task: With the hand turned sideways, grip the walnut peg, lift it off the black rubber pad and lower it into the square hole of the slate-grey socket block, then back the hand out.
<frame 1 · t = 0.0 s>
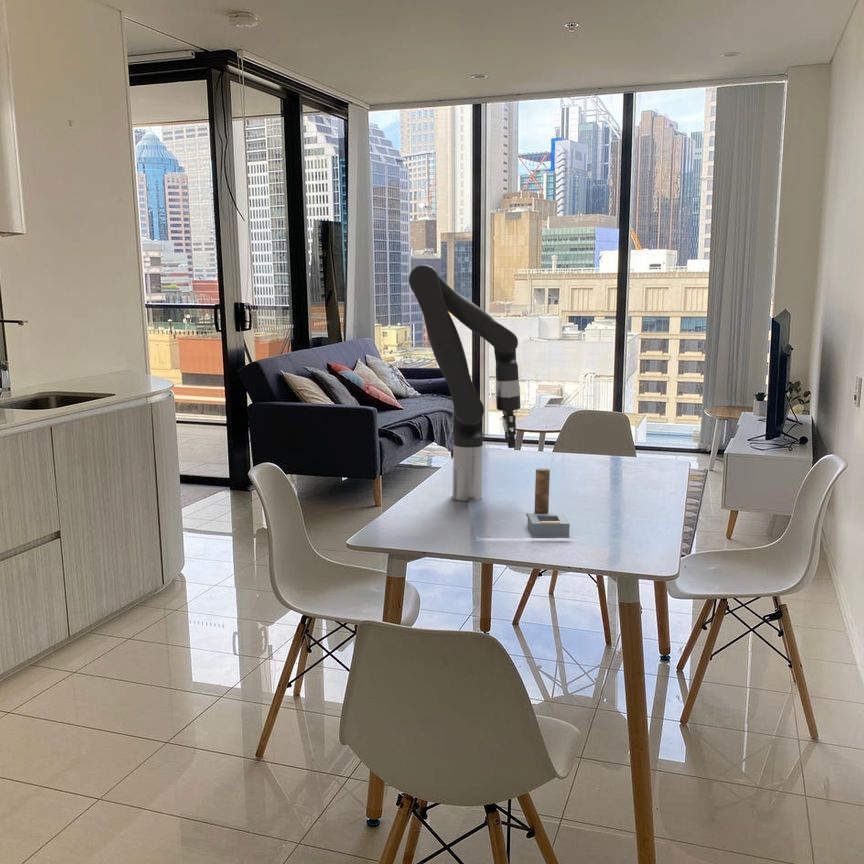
hand: (510, 445, 272), 17 cm above the table, tool pointing down, fingers open, 8 cm apart
walnut peg: (541, 517, 249), point 1 cm above the table, touching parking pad
socket block: (547, 532, 236), on the table
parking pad: (541, 519, 249), on the table
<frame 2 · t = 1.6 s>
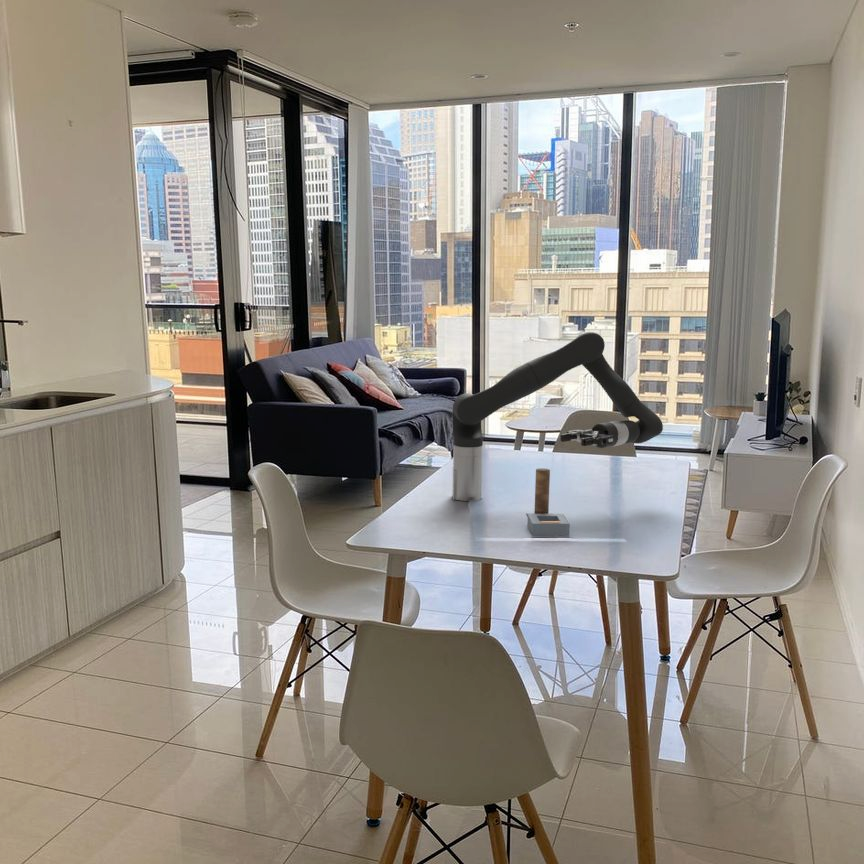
hand: (571, 440, 252), 22 cm above the table, tool horizontal, fingers open, 8 cm apart
nothing on the table moved.
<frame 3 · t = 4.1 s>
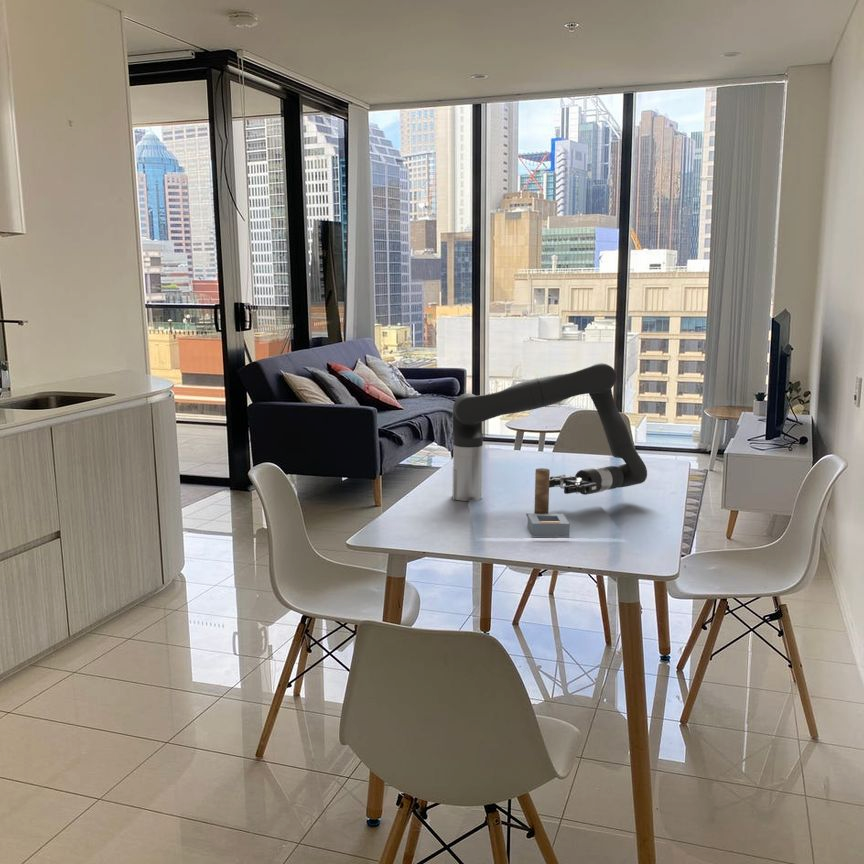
hand: (554, 487, 250), 9 cm above the table, tool horizontal, fingers open, 8 cm apart
nothing on the table moved.
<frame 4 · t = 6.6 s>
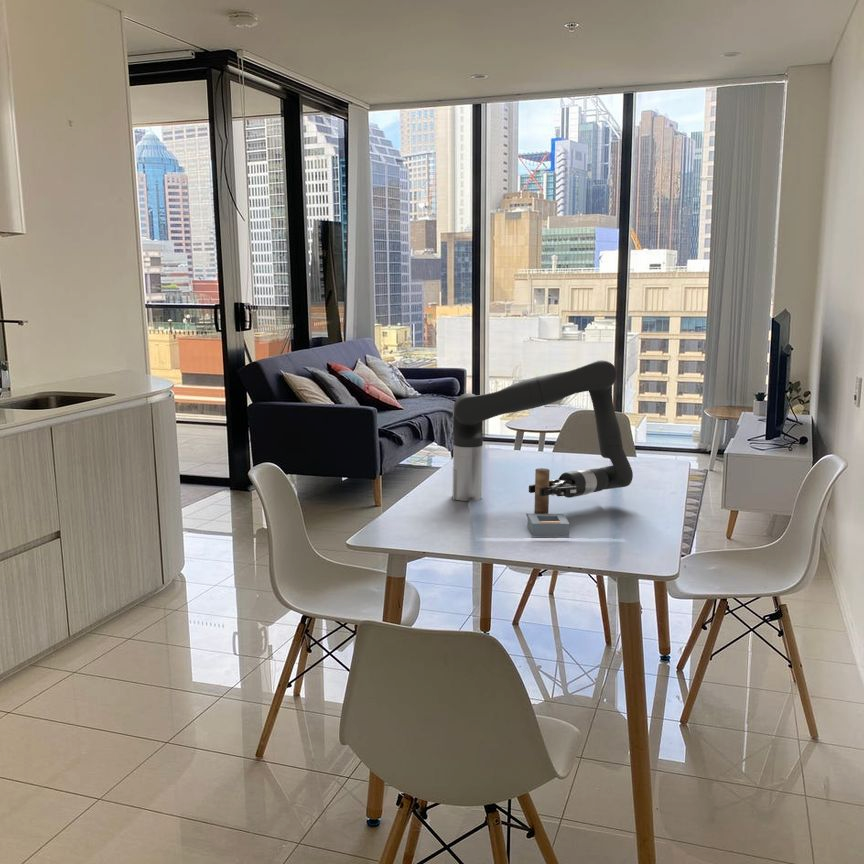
hand: (535, 490, 246), 9 cm above the table, tool horizontal, fingers closed on walnut peg, 4 cm apart
walnut peg: (541, 517, 249), point 1 cm above the table, touching gripper, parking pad
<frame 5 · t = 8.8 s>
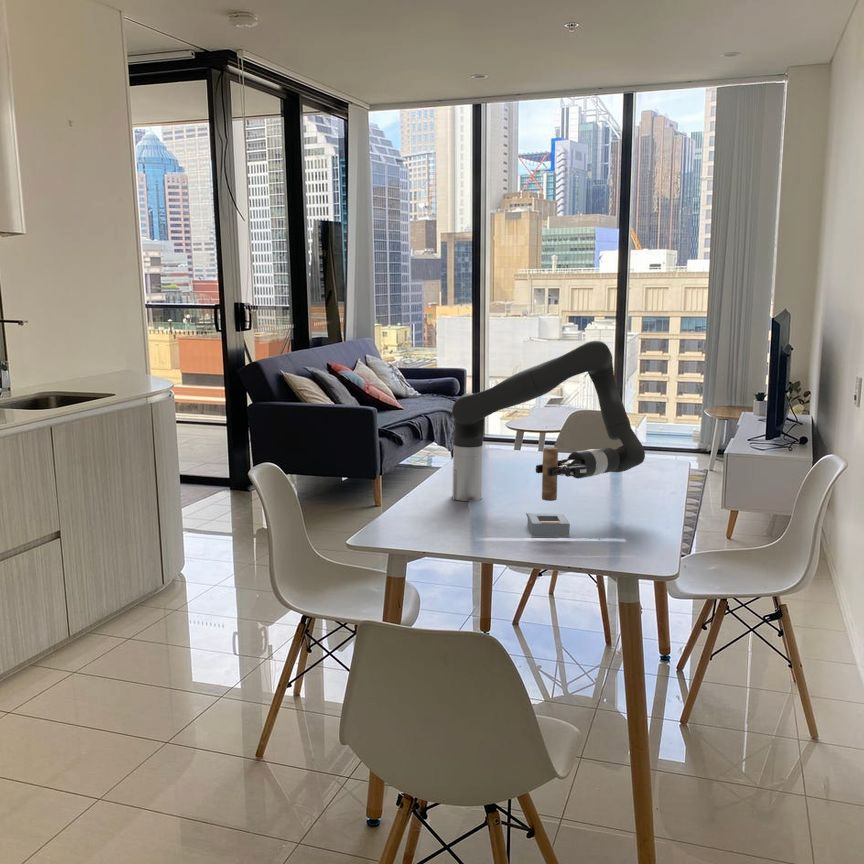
hand: (542, 470, 231), 18 cm above the table, tool horizontal, fingers closed on walnut peg, 4 cm apart
walnut peg: (549, 498, 234), point 9 cm above the table, touching gripper
when the fingers open (10 cm above the table, at t = 11.3 s): walnut peg drops 2 cm, resting in socket block.
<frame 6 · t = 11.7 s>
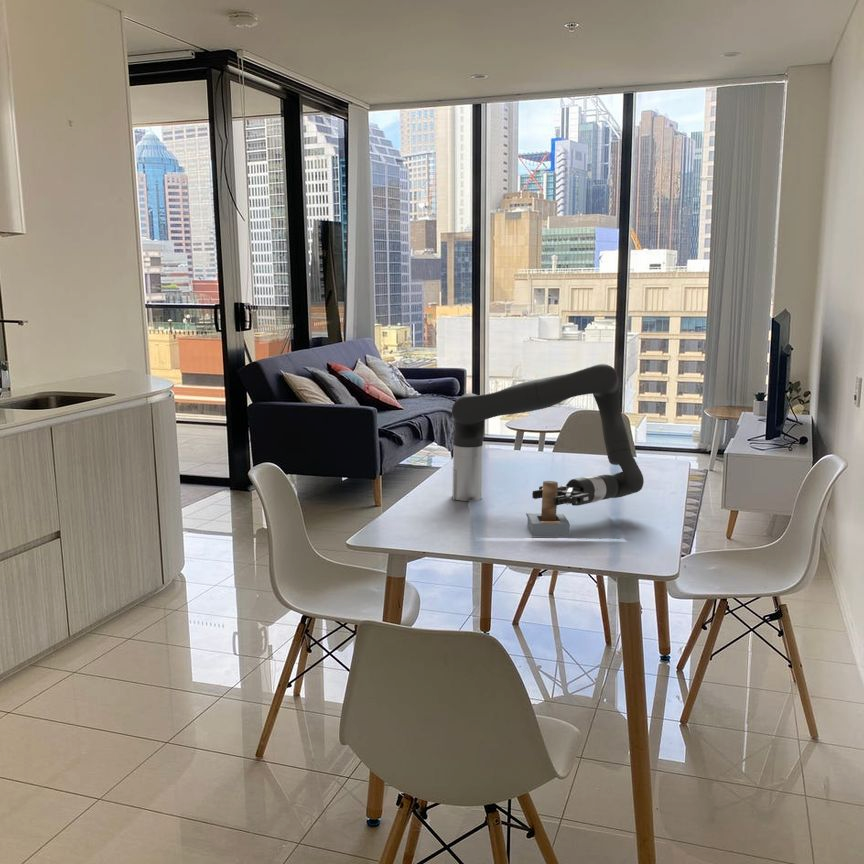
hand: (543, 498, 233), 10 cm above the table, tool horizontal, fingers open, 8 cm apart
walnut peg: (547, 532, 236), resting in socket block
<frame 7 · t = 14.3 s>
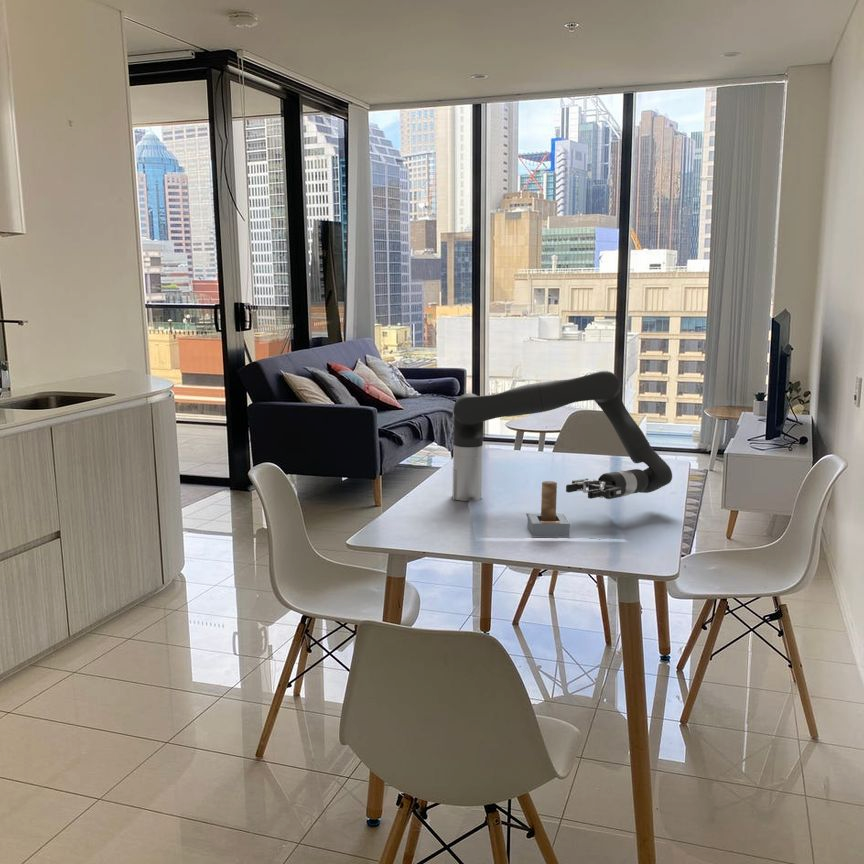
hand: (577, 491, 241), 10 cm above the table, tool horizontal, fingers open, 8 cm apart
nothing on the table moved.
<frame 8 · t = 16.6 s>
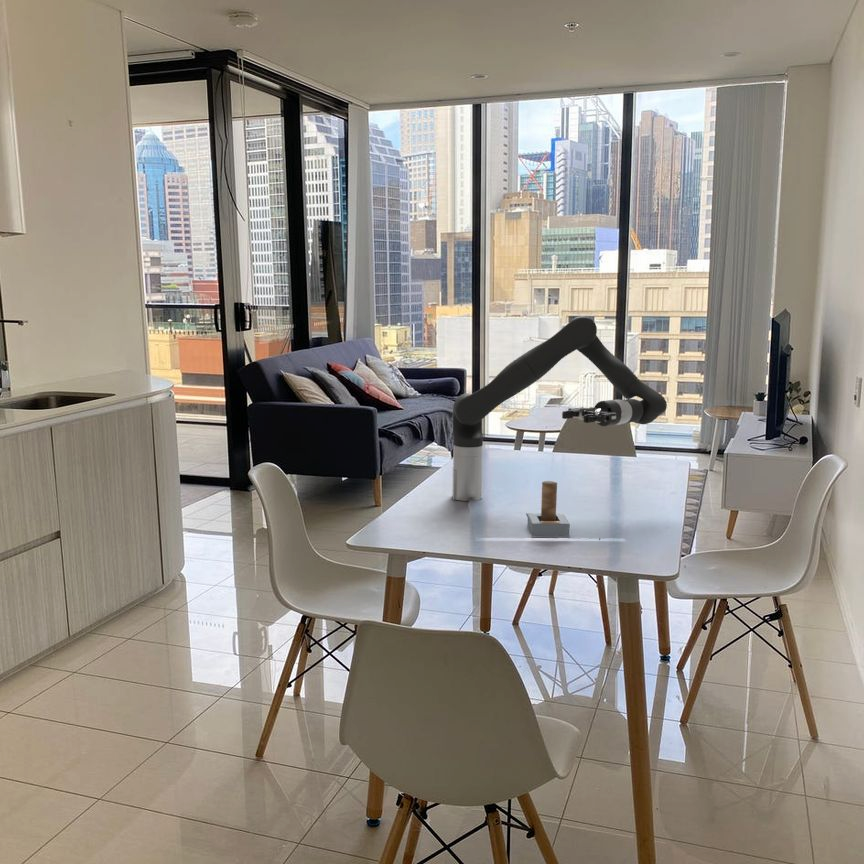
hand: (573, 417, 245), 30 cm above the table, tool horizontal, fingers open, 8 cm apart
nothing on the table moved.
at the end: walnut peg 0.1 cm off-centre on the socket block, point 0.0 cm above the socket block's base; walnut peg tilted 0°; the gripper is holding nothing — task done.
